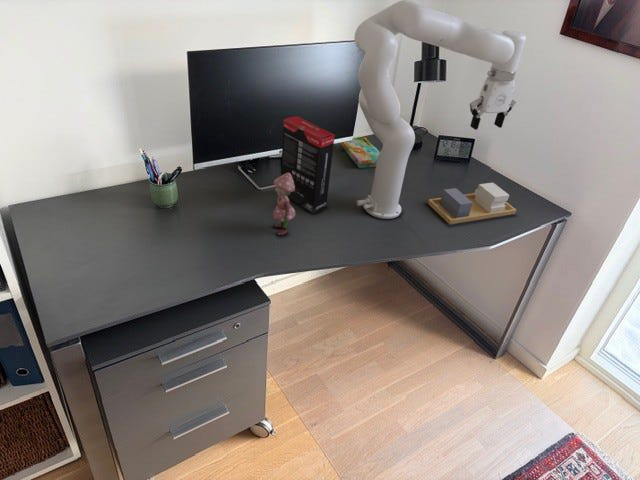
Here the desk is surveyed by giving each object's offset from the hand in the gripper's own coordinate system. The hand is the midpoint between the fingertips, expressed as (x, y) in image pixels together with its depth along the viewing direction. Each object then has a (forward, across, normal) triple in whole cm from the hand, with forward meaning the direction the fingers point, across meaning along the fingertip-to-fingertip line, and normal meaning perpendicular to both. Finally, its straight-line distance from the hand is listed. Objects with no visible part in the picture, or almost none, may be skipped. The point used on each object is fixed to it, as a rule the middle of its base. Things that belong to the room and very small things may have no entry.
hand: (485, 127), depth 162 cm
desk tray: (+28, -1, -6) cm, 29 cm away
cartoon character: (+28, -69, -2) cm, 75 cm away
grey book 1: (+24, -8, -6) cm, 27 cm away
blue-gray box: (+28, -8, -6) cm, 29 cm away
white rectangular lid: (+23, +6, -6) cm, 25 cm away
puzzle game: (+28, -22, +40) cm, 54 cm away
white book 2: (+25, +6, -5) cm, 27 cm away
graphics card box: (+28, -57, +13) cm, 65 cm away
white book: (+28, +6, -6) cm, 29 cm away
